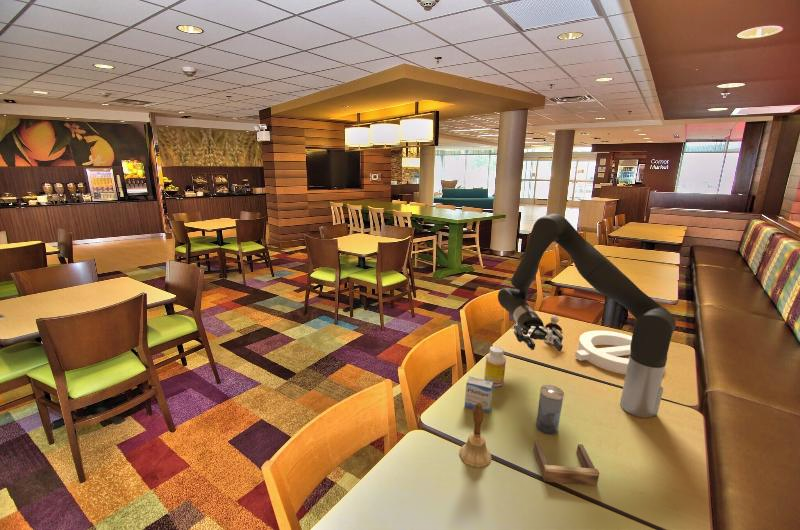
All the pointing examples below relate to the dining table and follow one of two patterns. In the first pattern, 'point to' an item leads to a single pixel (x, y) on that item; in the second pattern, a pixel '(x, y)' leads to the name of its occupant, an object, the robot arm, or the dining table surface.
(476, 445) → the hand bell
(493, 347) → the supplement bottle
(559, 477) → the wooden u-shaped bracket
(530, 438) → the dining table surface
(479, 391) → the medicine box
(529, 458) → the dining table surface
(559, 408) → the tin
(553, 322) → the grandmother figurine
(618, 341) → the ring with crossbar
